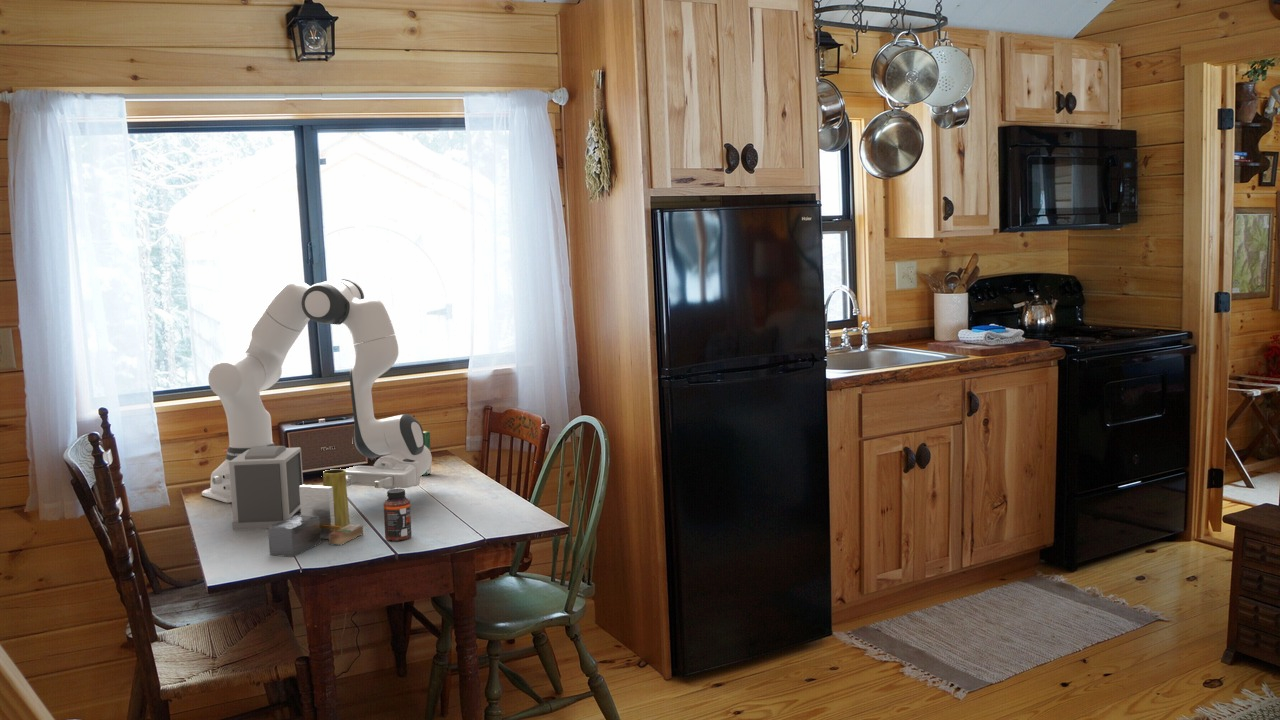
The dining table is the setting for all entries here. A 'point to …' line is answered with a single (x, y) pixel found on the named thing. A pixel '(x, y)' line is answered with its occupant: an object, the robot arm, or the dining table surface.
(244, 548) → the dining table surface
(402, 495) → the supplement bottle
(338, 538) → the rail
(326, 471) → the vase
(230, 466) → the grey box
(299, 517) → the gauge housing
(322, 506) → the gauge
